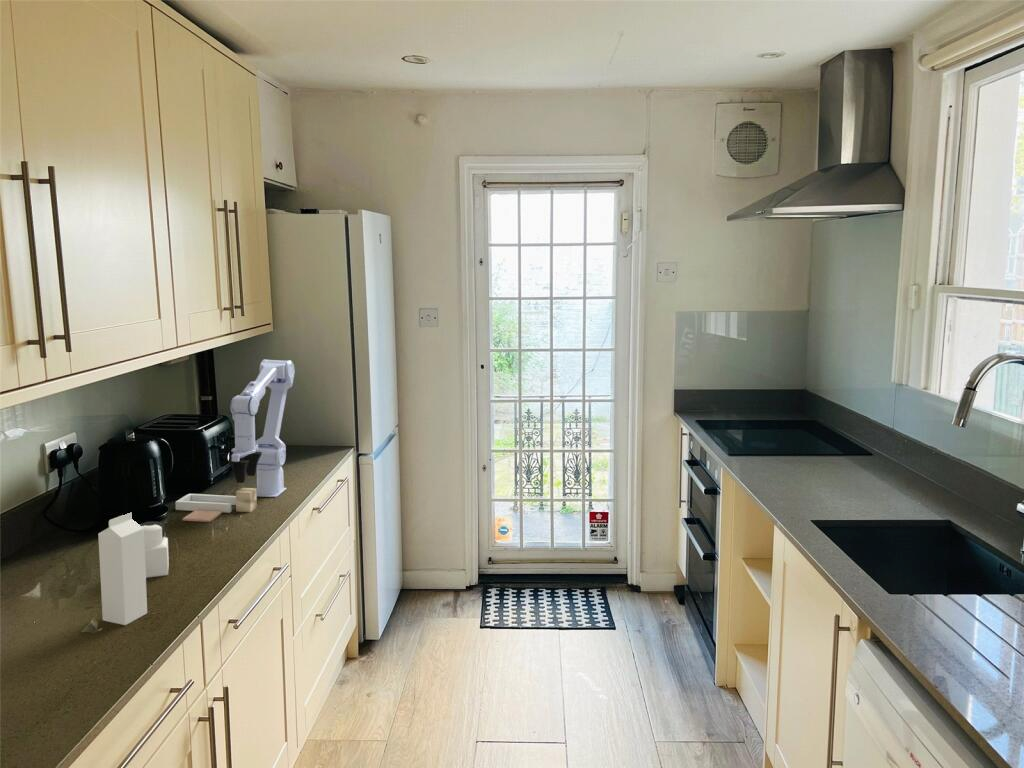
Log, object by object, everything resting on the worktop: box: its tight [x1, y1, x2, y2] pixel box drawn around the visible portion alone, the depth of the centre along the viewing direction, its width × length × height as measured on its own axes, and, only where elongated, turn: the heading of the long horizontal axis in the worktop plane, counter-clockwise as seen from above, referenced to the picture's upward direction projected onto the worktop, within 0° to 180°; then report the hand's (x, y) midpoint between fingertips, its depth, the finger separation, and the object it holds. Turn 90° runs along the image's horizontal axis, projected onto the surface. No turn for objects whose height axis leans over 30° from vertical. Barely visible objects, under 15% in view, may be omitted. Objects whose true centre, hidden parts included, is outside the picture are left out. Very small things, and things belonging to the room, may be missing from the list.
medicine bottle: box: [139, 520, 170, 579], centre depth 179 cm, size 7×7×12 cm
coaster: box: [182, 510, 223, 523], centre depth 220 cm, size 8×8×1 cm
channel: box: [175, 493, 236, 513], centre depth 229 cm, size 8×17×2 cm, turn 86°
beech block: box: [235, 487, 258, 513], centre depth 228 cm, size 4×4×6 cm
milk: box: [97, 512, 148, 626], centre depth 155 cm, size 6×6×22 cm
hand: (245, 478), depth 227 cm, fingers open, 7 cm apart
